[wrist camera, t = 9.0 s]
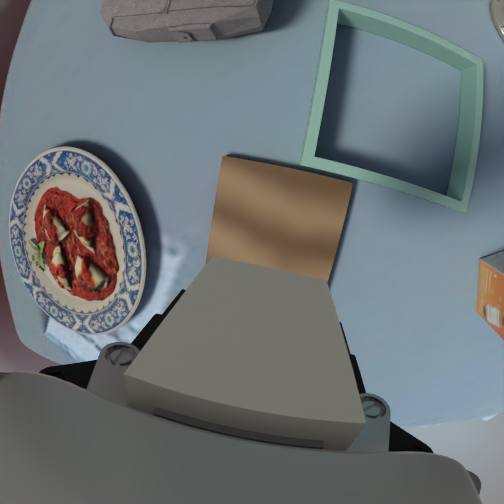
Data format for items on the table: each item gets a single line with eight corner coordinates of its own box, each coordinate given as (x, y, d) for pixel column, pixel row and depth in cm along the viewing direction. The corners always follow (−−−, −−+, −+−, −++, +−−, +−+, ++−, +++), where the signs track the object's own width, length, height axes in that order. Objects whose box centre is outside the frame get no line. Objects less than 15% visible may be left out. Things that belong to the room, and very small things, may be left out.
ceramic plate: (156, 141, 29) (144, 140, 26) (158, 345, 37) (150, 357, 34) (16, 154, 31) (2, 155, 29) (31, 307, 39) (20, 314, 36)
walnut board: (224, 156, 29) (222, 155, 28) (350, 182, 28) (353, 182, 27) (206, 274, 33) (204, 277, 32) (320, 298, 32) (321, 302, 31)
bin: (326, 13, 23) (329, -1, 19) (468, 67, 22) (483, 61, 18) (299, 164, 28) (301, 164, 25) (450, 208, 27) (466, 213, 24)
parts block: (213, 255, 13) (119, 379, 5) (325, 279, 12) (367, 430, 5) (201, 347, 14) (140, 481, 6) (297, 367, 14) (296, 514, 6)
